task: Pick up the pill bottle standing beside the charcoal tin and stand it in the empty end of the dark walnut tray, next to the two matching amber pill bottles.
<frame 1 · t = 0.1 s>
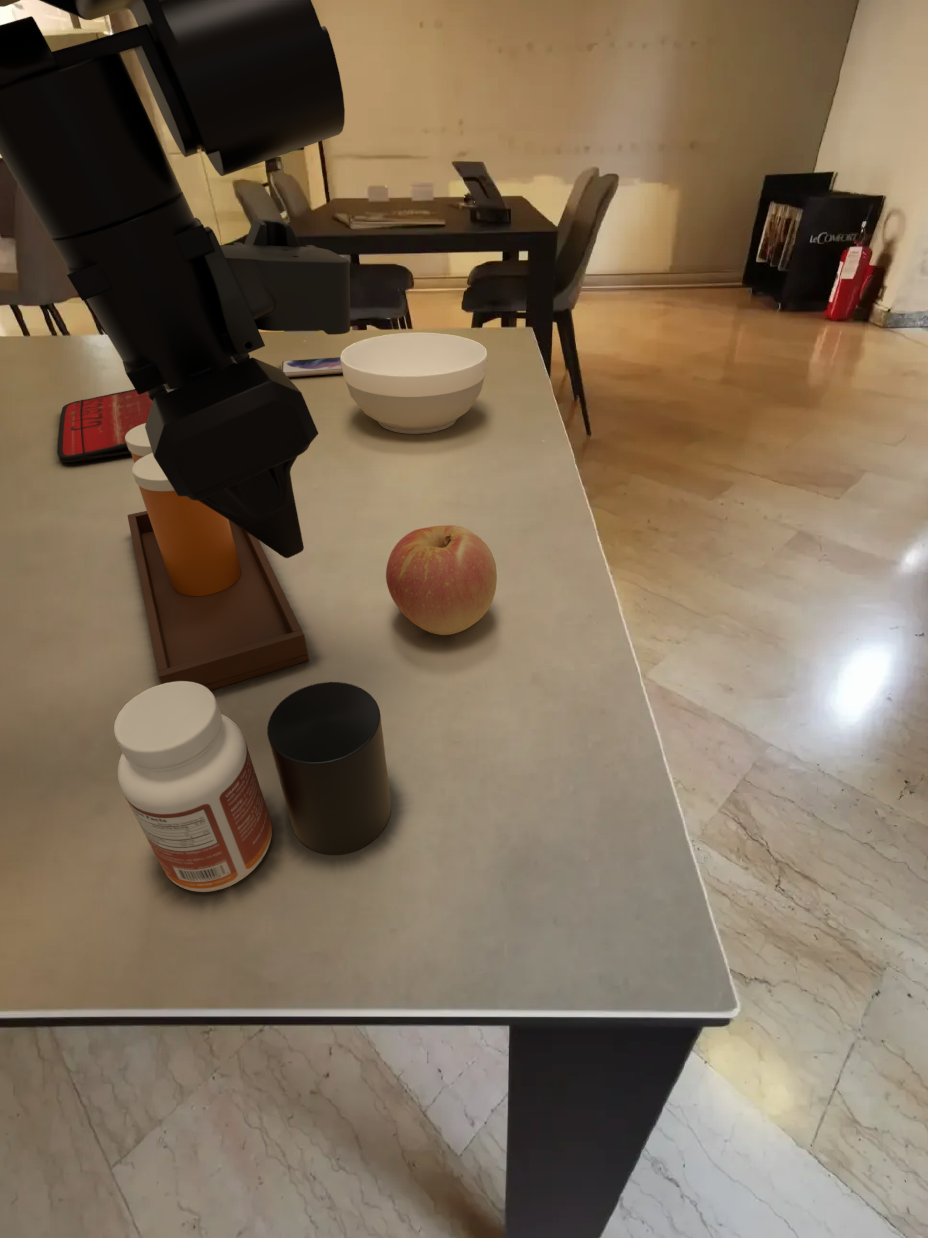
hand: (273, 515, 38), 15 cm above the table, tool pointing down, fingers open, 9 cm apart
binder: (128, 429, 89), on the table
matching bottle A: (206, 576, 60), point 1 cm above the table, touching walnut tray
smartphone: (329, 370, 108), on the table
apple: (443, 619, 56), on the table
bowl: (417, 420, 91), on the table
charcoal tin: (341, 810, 41), on the table
walnut tray: (211, 591, 59), on the table
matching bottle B: (195, 540, 65), point 1 cm above the table, touching walnut tray
pill bottle: (220, 848, 39), on the table
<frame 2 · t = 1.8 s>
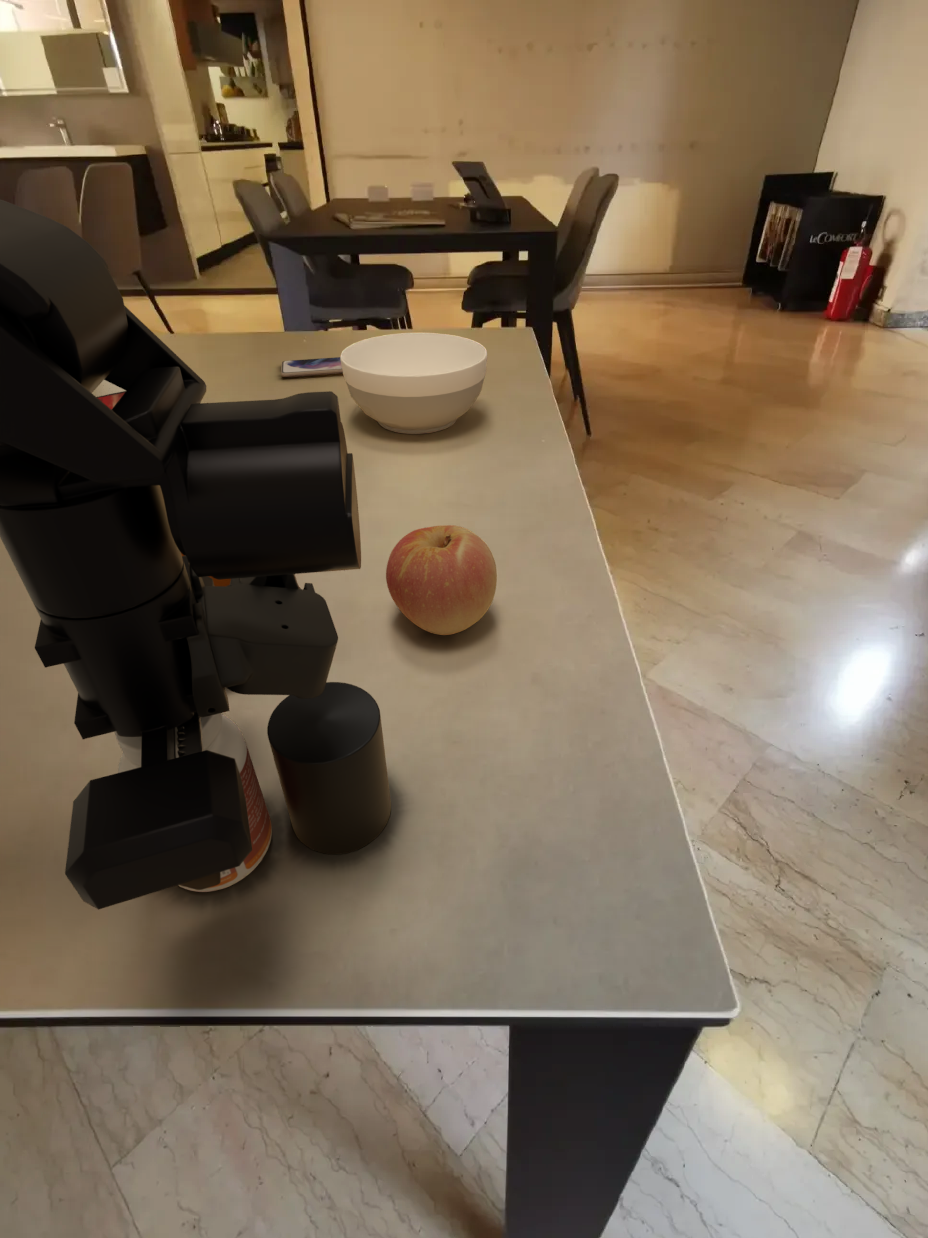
hand: (204, 811, 37), 3 cm above the table, tool pointing down
pill bottle: (220, 848, 39), on the table, touching gripper
everything else where it was.
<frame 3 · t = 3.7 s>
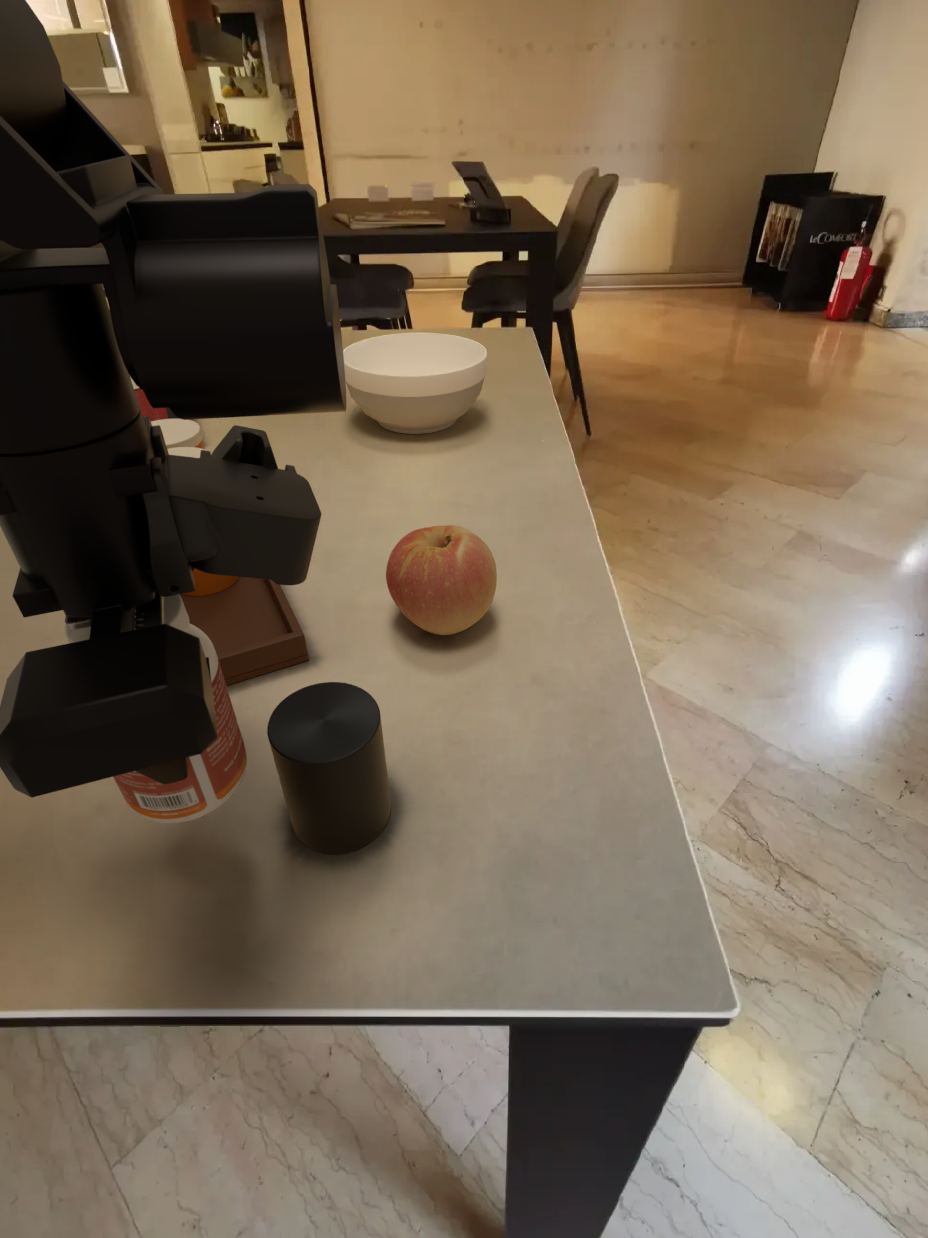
hand: (174, 729, 33), 10 cm above the table, tool pointing down, fingers closed on pill bottle, 6 cm apart
pill bottle: (189, 780, 35), point 6 cm above the table, touching gripper
everything else where it was.
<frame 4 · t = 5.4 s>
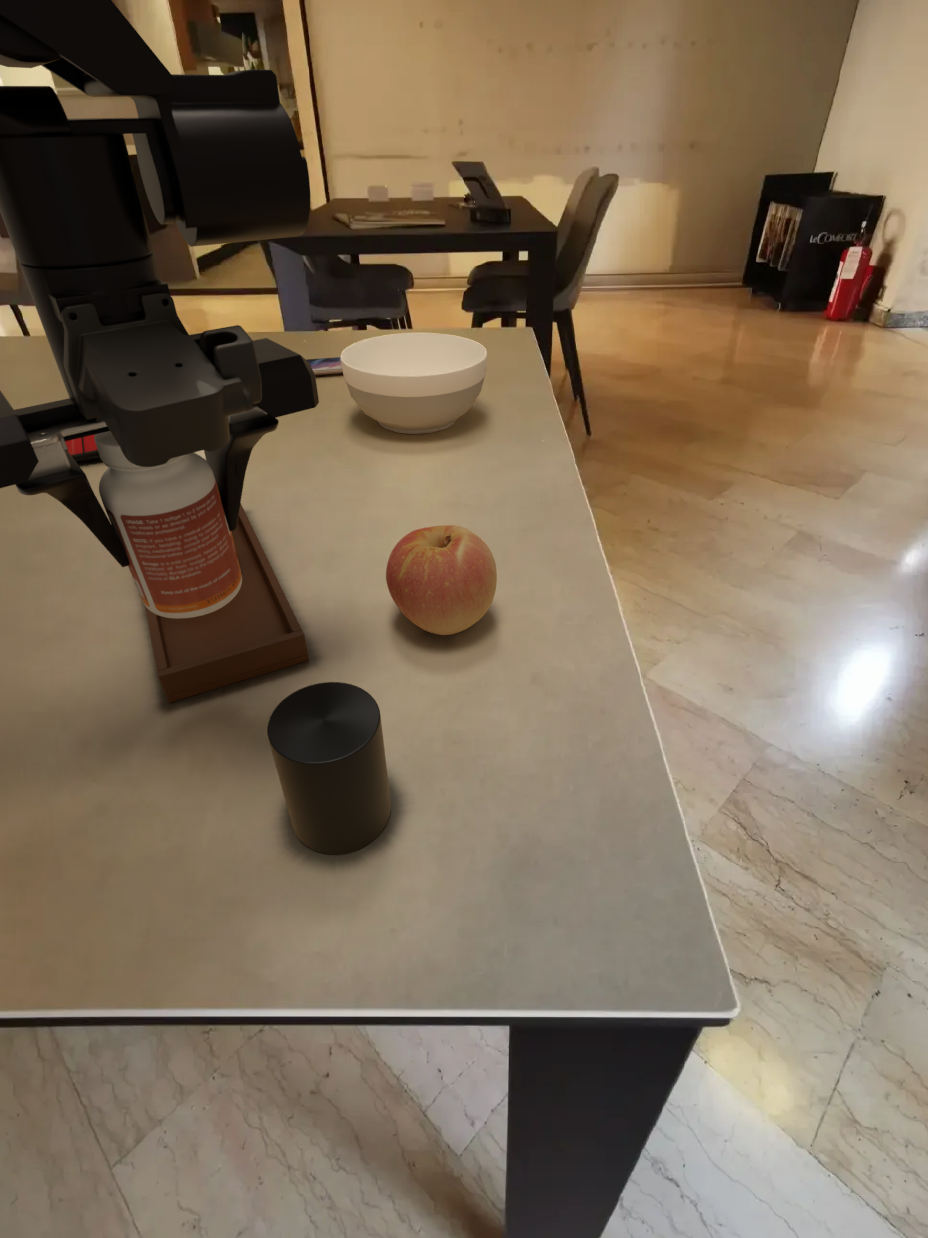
hand: (178, 545, 40), 13 cm above the table, tool pointing down, fingers closed on pill bottle, 6 cm apart
pill bottle: (195, 595, 43), point 9 cm above the table, touching gripper
everything else where it was.
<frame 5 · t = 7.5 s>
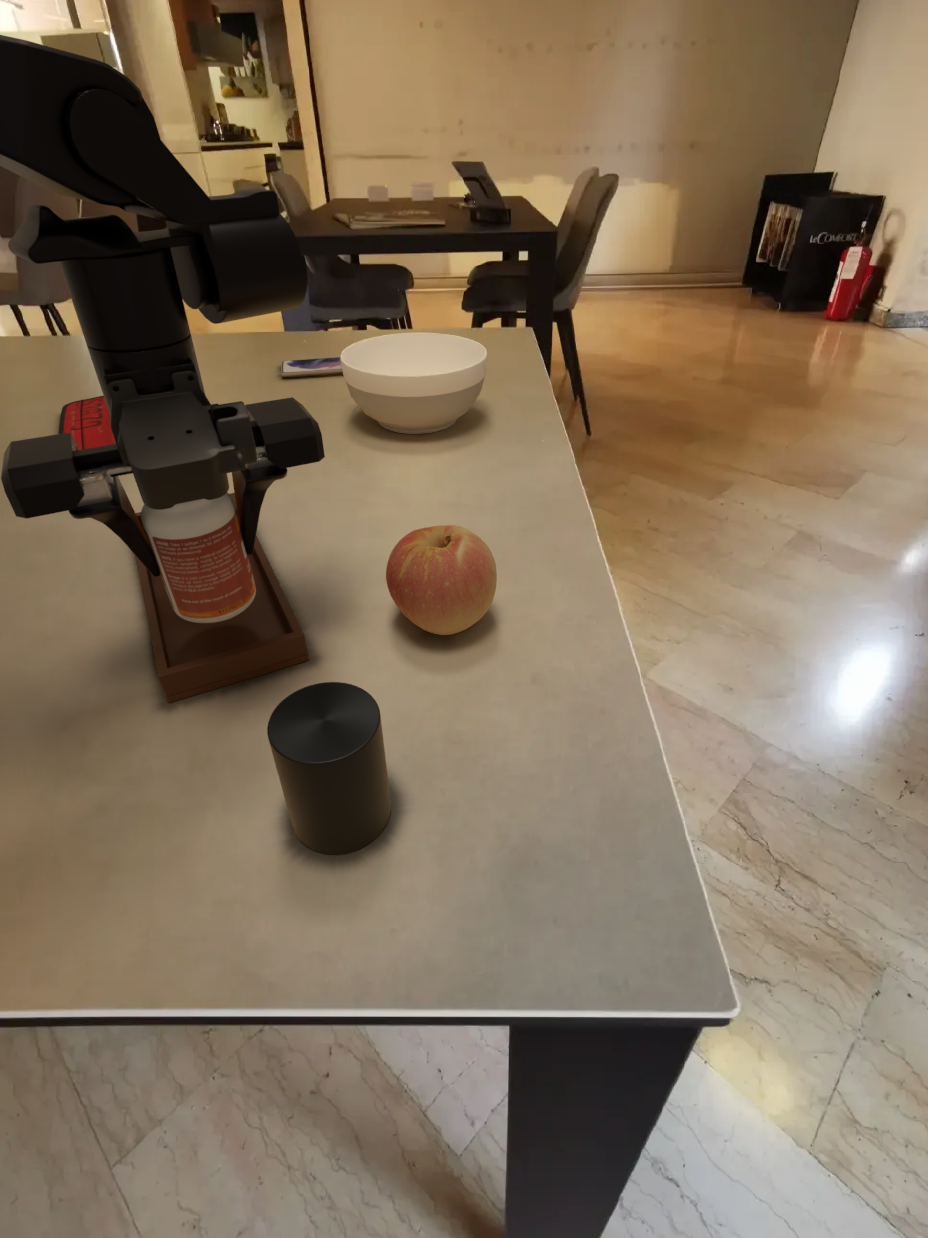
hand: (203, 562, 49), 8 cm above the table, tool pointing down, fingers closed on pill bottle, 6 cm apart
pill bottle: (216, 603, 51), point 4 cm above the table, touching gripper
everything else where it was.
when the fingers open (4 cm above the table, at t = 8.9 s): pill bottle stays where it is, resting on walnut tray.
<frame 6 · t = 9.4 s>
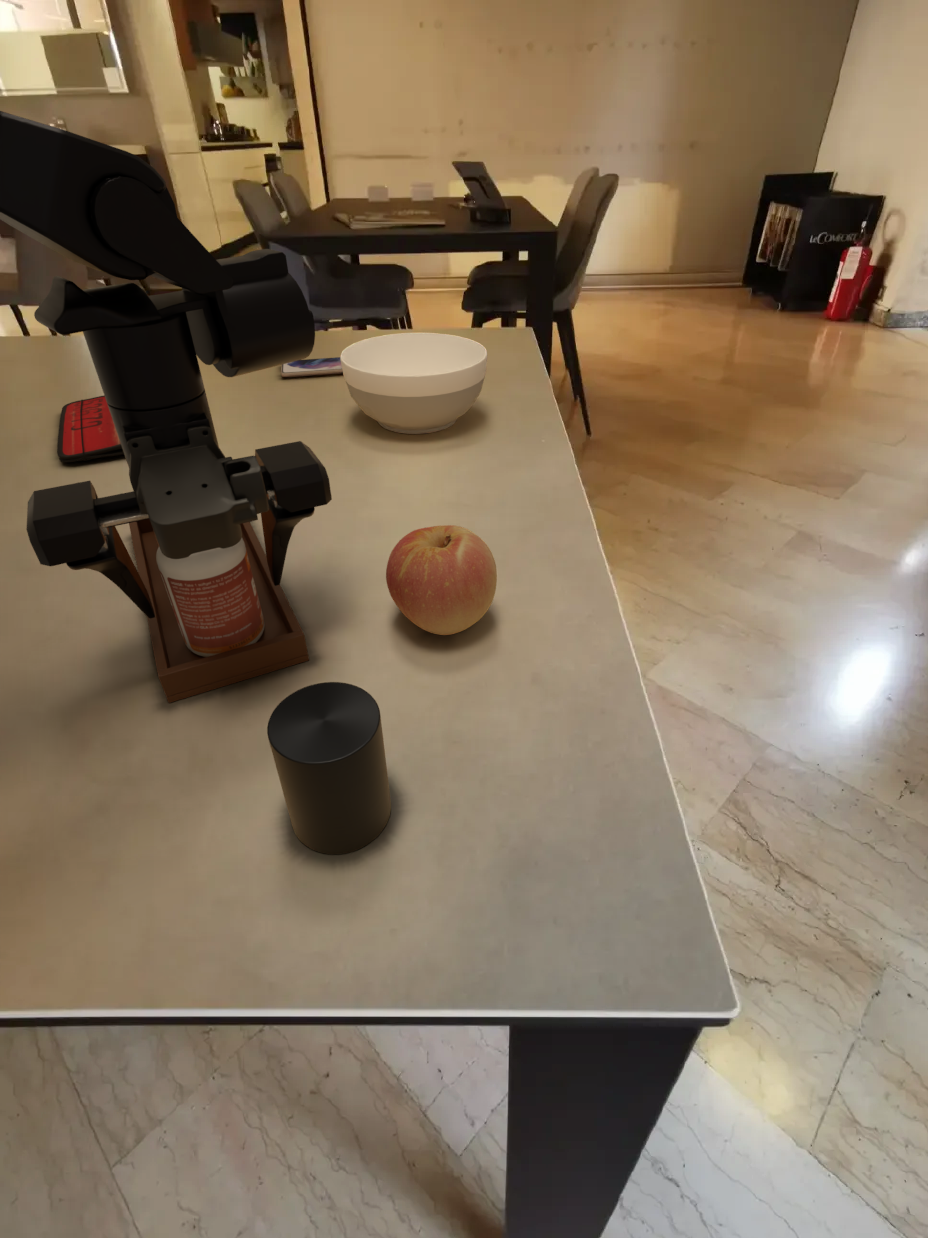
hand: (215, 598, 51), 4 cm above the table, tool pointing down, fingers open, 9 cm apart
pill bottle: (226, 637, 53), resting on walnut tray
everything else where it was.
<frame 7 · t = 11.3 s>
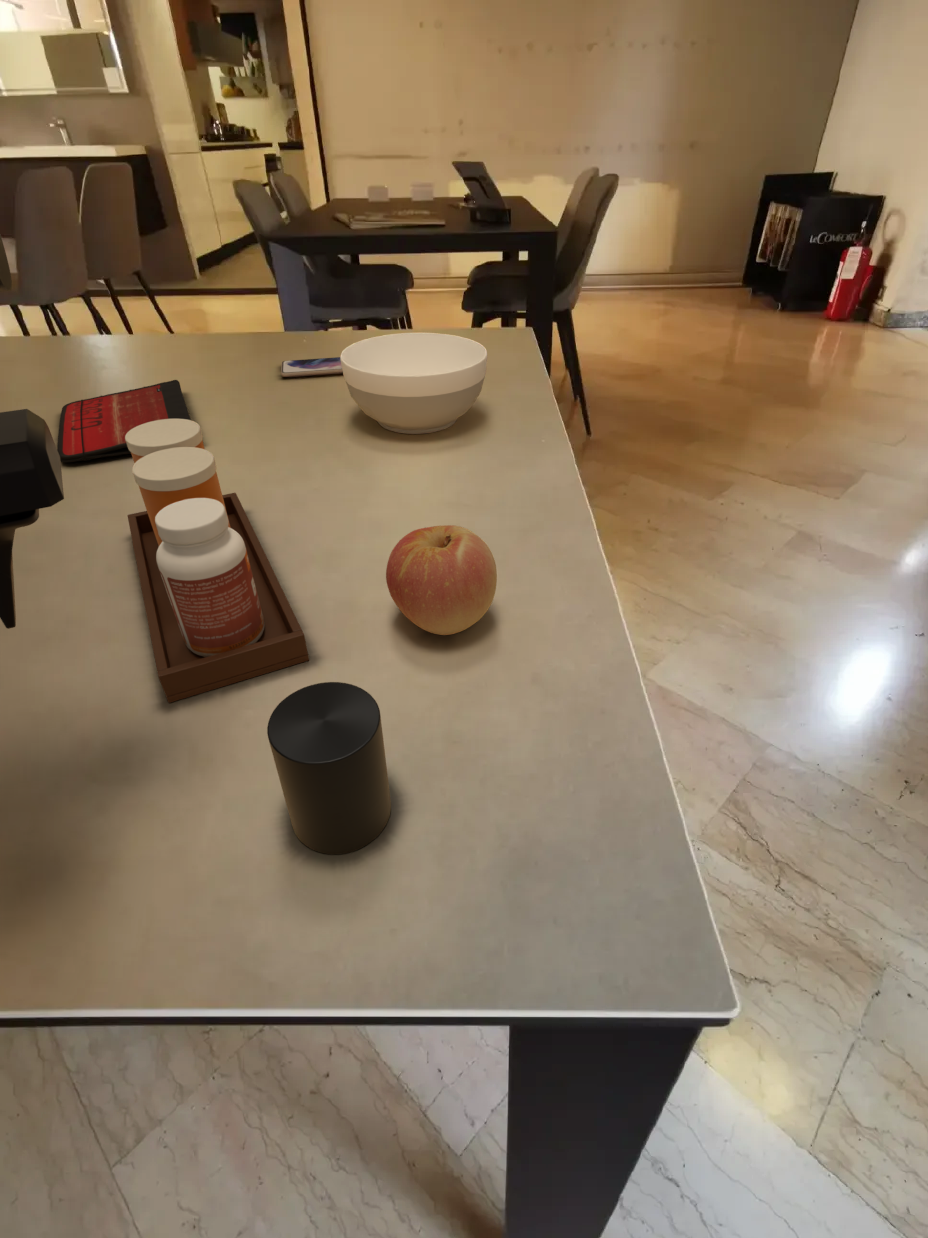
nothing on the table moved.
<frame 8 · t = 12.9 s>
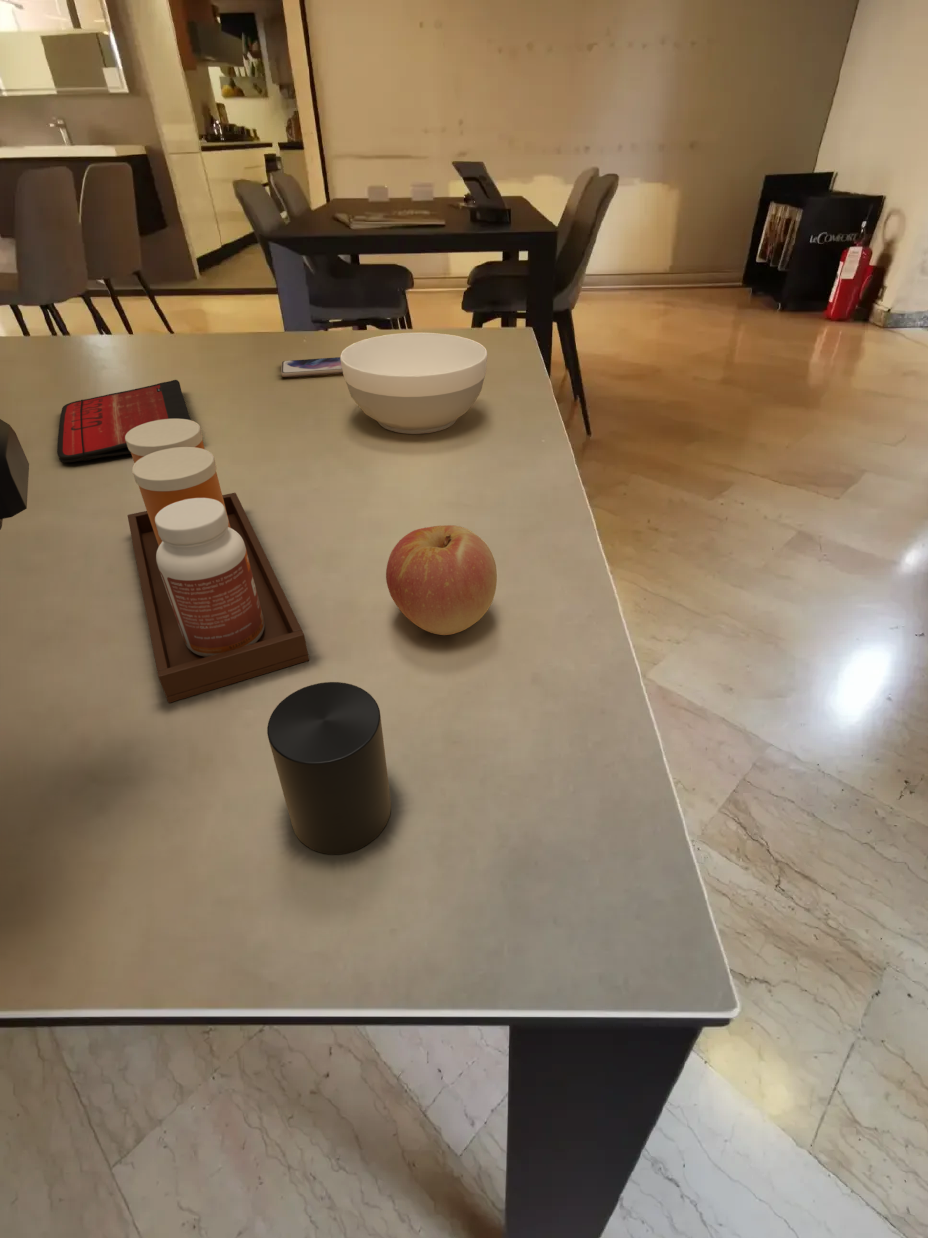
nothing on the table moved.
at the end: pill bottle 0.1 cm from the target spot in the walnut tray, point 0.4 cm above the walnut tray's base; pill bottle tilted 0° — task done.
